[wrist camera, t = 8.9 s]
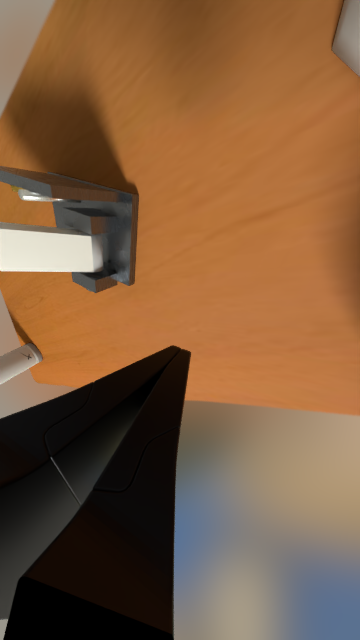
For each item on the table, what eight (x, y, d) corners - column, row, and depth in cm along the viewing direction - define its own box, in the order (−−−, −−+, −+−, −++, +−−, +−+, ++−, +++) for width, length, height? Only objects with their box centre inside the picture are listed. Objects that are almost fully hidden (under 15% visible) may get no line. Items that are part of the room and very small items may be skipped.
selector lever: (103, 238, 20) (-117, 221, 14) (105, 274, 23) (-84, 273, 16) (100, 230, 23) (-88, 212, 16) (101, 262, 25) (-63, 258, 19)
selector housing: (138, 195, 20) (52, 185, 13) (133, 291, 26) (74, 320, 19) (55, 173, 24) (-45, 156, 17) (68, 261, 30) (-1, 276, 23)
